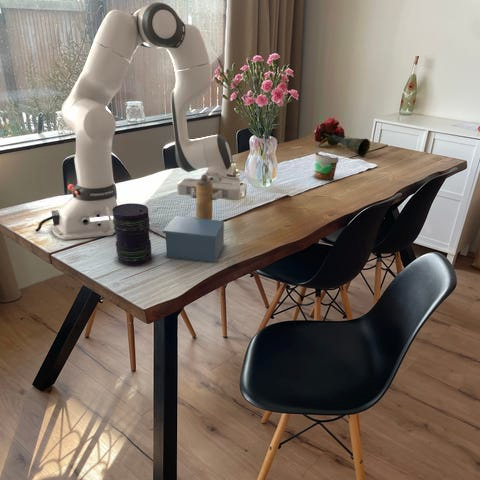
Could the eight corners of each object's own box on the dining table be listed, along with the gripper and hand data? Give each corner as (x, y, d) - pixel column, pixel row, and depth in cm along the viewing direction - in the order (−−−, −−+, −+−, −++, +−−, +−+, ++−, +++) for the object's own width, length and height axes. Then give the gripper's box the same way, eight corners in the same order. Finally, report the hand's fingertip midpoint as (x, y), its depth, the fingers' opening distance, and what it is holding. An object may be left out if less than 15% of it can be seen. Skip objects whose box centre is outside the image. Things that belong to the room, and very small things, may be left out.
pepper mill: (200, 222, 150) (200, 177, 143) (193, 216, 154) (193, 173, 147) (215, 219, 153) (215, 175, 145) (207, 214, 156) (207, 171, 149)
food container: (305, 176, 218) (308, 153, 213) (314, 174, 222) (317, 151, 216) (326, 183, 211) (329, 159, 205) (335, 180, 214) (339, 157, 209)
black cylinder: (112, 264, 137) (106, 213, 129) (124, 250, 145) (119, 201, 137) (146, 267, 136) (142, 217, 128) (156, 253, 144) (153, 204, 136)
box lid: (162, 233, 139) (162, 230, 138) (174, 218, 149) (174, 216, 148) (215, 238, 137) (215, 235, 136) (224, 223, 147) (224, 220, 146)
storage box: (166, 257, 142) (165, 233, 139) (178, 241, 153) (177, 219, 149) (215, 262, 141) (215, 238, 137) (223, 245, 151) (224, 223, 147)
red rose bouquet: (361, 171, 257) (314, 153, 278) (382, 144, 257) (334, 128, 279) (353, 150, 244) (304, 133, 266) (375, 123, 245) (325, 108, 267)
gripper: (182, 171, 160) (170, 183, 148) (244, 176, 157) (236, 189, 146) (183, 190, 163) (171, 203, 152) (243, 196, 161) (235, 209, 149)
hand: (203, 196), depth 149 cm, fingers closed on pepper mill, 5 cm apart
